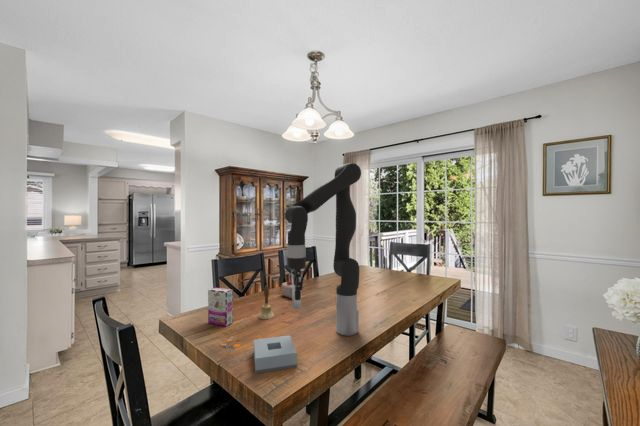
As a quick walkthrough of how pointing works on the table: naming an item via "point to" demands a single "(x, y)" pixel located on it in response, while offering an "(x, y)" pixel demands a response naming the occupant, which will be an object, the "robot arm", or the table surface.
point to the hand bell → (266, 306)
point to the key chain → (229, 344)
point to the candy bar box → (220, 306)
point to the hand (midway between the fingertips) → (296, 298)
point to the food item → (287, 289)
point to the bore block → (274, 354)
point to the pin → (295, 303)
